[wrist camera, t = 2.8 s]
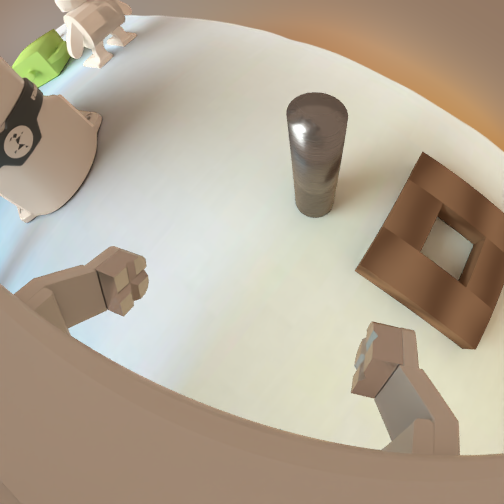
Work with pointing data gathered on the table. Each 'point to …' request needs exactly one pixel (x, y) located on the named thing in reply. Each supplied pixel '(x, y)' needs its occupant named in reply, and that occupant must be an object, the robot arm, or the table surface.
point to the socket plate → (426, 271)
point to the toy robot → (94, 27)
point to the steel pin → (316, 150)
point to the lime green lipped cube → (42, 59)
